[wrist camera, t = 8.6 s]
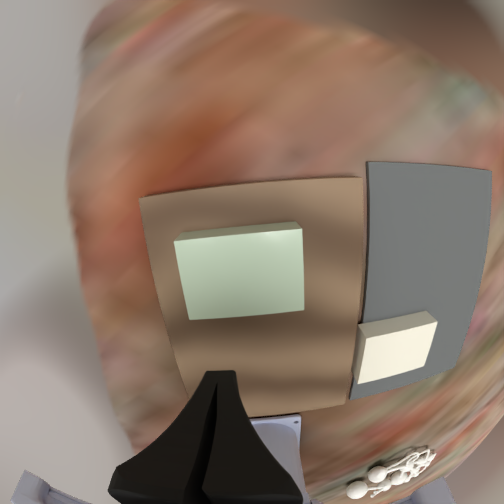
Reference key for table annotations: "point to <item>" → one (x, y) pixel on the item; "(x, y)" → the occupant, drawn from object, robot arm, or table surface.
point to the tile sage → (242, 270)
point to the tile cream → (392, 346)
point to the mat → (424, 255)
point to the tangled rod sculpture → (397, 478)
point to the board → (278, 324)
